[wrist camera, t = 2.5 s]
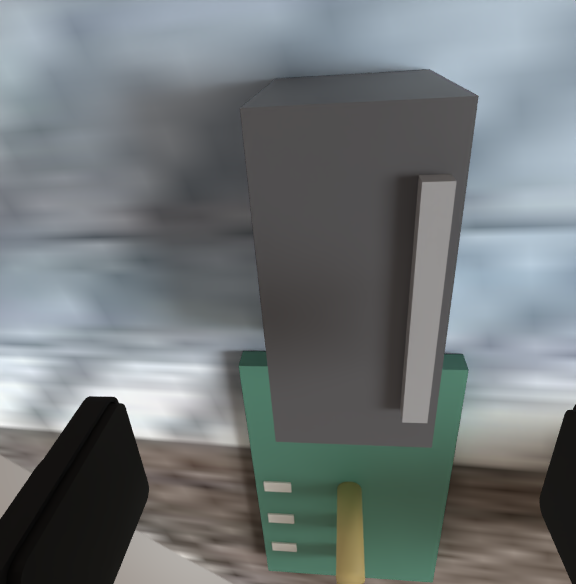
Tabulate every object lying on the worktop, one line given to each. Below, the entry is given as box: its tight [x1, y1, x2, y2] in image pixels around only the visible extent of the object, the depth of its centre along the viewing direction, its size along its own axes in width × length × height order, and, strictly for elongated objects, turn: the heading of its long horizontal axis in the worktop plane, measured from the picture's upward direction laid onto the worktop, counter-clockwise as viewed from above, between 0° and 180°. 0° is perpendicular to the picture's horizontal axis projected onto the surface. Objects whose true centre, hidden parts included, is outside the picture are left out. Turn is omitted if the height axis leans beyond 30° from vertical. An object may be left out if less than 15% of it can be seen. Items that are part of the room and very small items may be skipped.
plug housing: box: [240, 69, 478, 448], centre depth 17 cm, size 12×6×8 cm, turn 4°
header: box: [239, 351, 468, 584], centre depth 25 cm, size 18×11×6 cm, turn 4°
